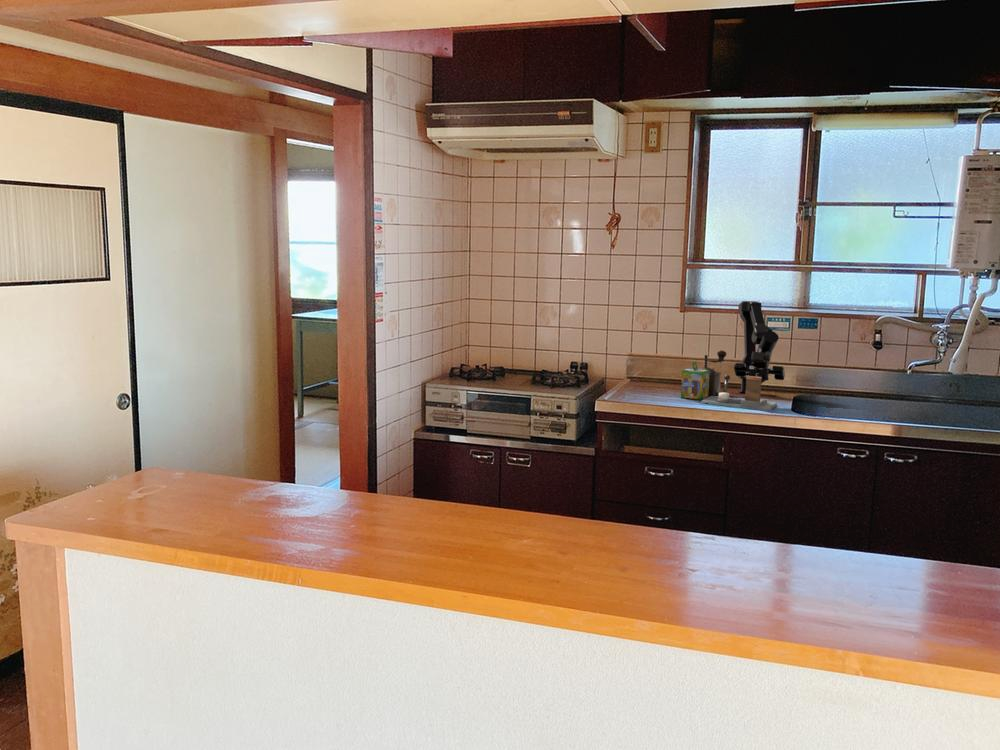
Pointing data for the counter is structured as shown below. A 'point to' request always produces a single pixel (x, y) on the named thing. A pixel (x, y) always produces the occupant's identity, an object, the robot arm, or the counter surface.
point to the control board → (713, 401)
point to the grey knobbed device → (714, 374)
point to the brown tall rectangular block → (753, 388)
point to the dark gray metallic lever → (726, 383)
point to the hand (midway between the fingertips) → (754, 388)
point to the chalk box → (695, 383)
